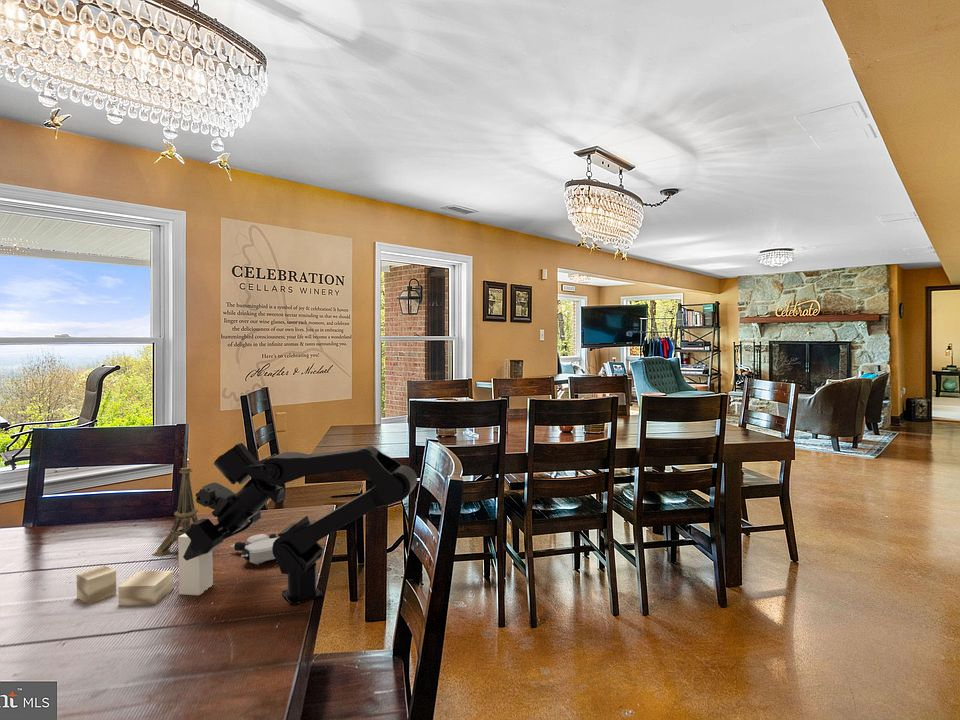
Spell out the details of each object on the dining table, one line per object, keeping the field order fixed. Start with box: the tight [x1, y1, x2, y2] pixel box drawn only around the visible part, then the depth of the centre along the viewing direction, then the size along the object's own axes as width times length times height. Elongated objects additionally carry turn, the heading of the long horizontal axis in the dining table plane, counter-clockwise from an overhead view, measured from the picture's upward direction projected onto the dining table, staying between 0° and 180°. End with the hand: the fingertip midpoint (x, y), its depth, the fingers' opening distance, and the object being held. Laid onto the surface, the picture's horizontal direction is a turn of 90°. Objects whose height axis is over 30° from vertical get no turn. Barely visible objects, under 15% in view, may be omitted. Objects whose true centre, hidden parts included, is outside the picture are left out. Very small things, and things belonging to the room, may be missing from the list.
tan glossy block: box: [117, 570, 174, 606], centre depth 107 cm, size 7×7×4 cm
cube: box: [75, 565, 117, 605], centre depth 107 cm, size 5×5×5 cm
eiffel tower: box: [151, 451, 199, 561], centre depth 131 cm, size 11×11×25 cm
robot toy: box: [230, 533, 279, 565], centre depth 128 cm, size 12×4×15 cm
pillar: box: [177, 534, 214, 596], centre depth 110 cm, size 4×4×12 cm
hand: (199, 549), depth 110 cm, fingers open, 9 cm apart
